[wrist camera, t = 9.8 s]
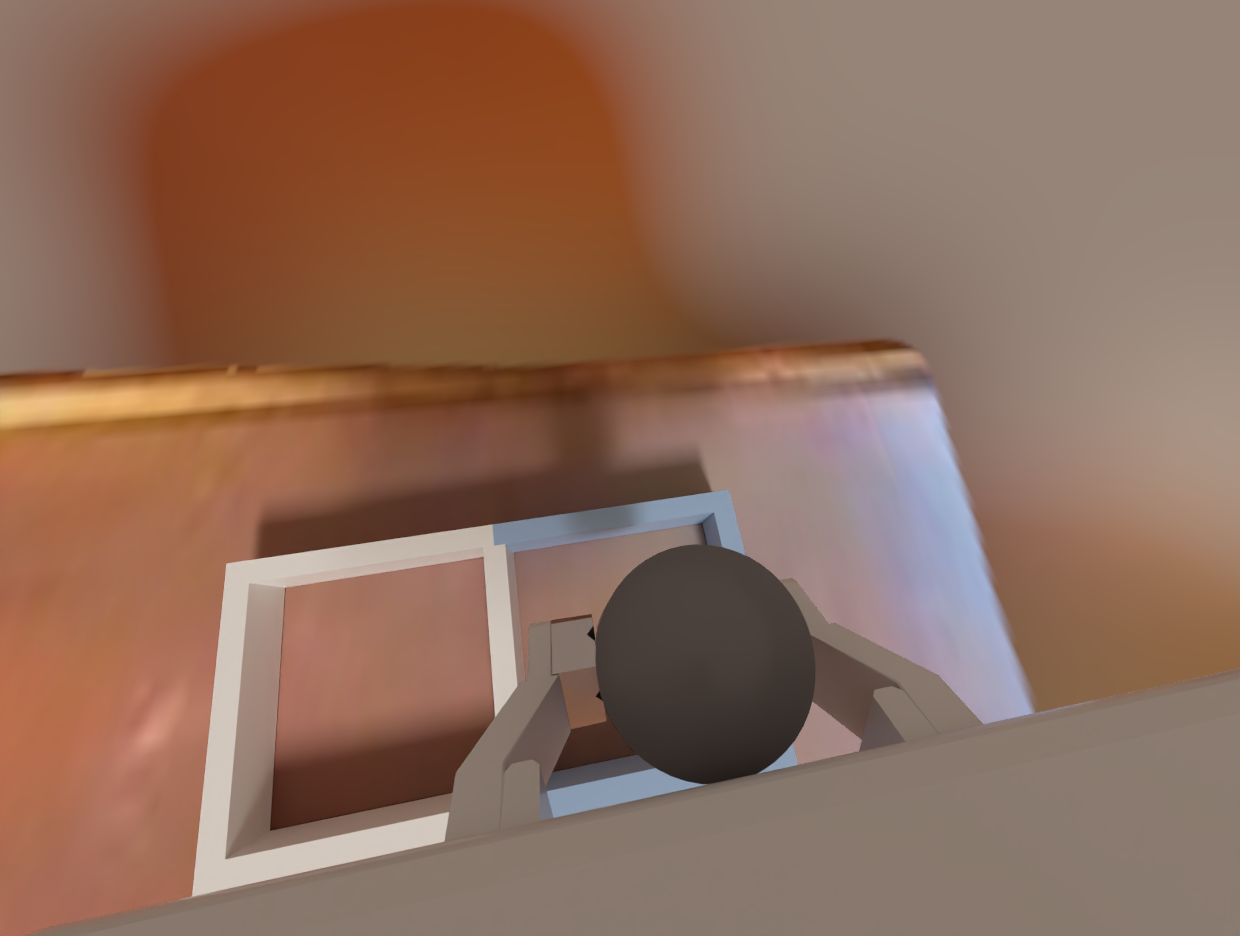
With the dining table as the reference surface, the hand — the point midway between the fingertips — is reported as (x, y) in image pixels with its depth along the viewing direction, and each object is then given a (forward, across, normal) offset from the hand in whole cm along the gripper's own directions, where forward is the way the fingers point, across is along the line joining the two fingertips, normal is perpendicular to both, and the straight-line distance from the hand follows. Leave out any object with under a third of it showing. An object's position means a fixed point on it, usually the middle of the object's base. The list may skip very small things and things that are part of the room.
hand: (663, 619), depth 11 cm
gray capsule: (+3, 0, +4) cm, 5 cm away
